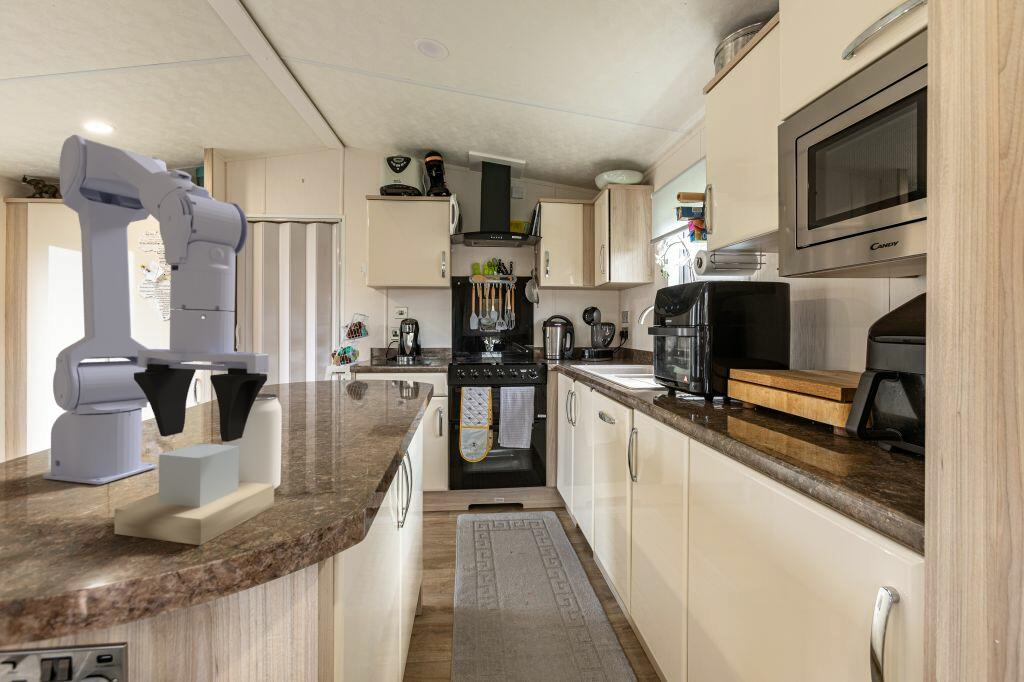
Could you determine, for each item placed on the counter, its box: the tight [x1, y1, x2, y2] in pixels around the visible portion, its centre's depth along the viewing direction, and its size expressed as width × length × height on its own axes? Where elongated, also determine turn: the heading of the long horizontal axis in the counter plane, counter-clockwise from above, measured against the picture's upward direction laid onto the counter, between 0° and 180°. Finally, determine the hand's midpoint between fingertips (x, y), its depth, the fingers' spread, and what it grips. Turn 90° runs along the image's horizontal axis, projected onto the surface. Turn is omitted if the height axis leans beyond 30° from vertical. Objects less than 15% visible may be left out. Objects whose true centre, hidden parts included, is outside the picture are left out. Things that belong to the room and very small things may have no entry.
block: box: [158, 442, 239, 507], centre depth 49 cm, size 5×5×5 cm
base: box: [114, 481, 275, 546], centre depth 49 cm, size 10×10×2 cm
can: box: [222, 392, 283, 491], centre depth 58 cm, size 6×6×12 cm
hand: (201, 437), depth 49 cm, fingers open, 7 cm apart
